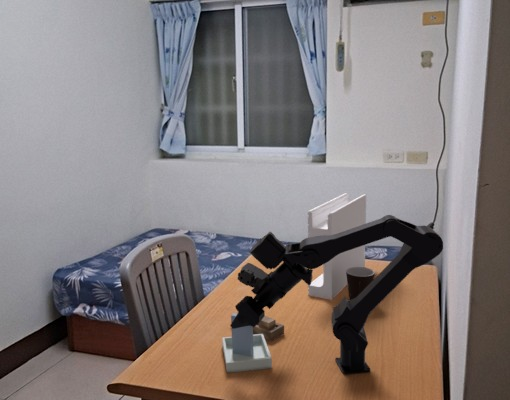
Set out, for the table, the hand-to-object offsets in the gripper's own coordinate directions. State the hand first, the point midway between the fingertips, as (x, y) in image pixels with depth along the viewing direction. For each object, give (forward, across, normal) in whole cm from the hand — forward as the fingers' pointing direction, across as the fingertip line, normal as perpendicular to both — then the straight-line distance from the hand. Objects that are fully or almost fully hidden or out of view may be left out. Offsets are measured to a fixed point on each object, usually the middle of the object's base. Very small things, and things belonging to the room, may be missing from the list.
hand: (239, 318), depth 115 cm
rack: (+8, -14, +6) cm, 17 cm away
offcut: (+4, -13, +7) cm, 15 cm away
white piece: (-2, -59, +16) cm, 61 cm away
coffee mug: (-9, -40, +23) cm, 47 cm away
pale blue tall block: (+6, 0, +7) cm, 9 cm away
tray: (+6, 0, +8) cm, 10 cm away
